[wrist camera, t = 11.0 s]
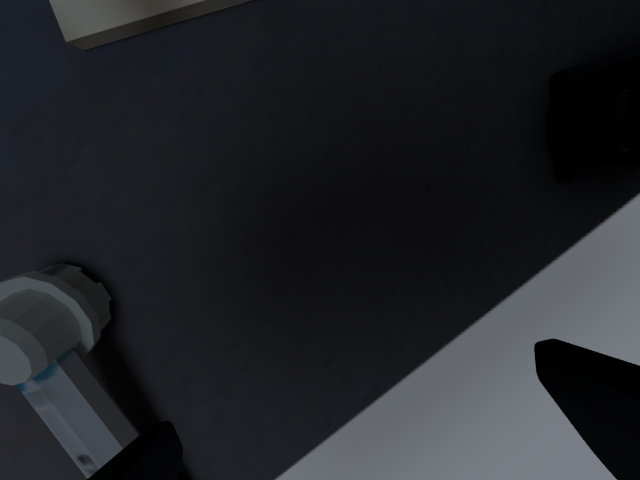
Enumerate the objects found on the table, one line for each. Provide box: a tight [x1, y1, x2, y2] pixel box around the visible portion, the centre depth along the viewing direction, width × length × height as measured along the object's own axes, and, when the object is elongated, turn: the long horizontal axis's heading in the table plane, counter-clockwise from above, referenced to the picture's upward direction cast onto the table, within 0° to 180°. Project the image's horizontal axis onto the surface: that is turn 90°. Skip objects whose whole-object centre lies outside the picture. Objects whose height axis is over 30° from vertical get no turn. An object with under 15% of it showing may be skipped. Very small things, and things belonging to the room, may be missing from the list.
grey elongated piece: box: [0, 263, 140, 479], centre depth 21 cm, size 5×7×25 cm
